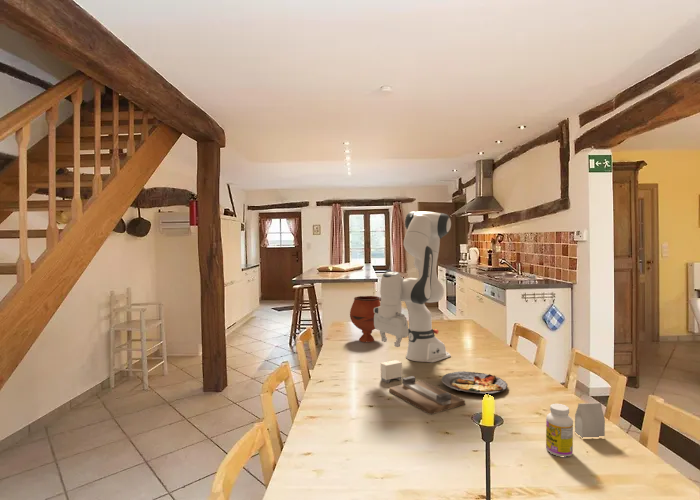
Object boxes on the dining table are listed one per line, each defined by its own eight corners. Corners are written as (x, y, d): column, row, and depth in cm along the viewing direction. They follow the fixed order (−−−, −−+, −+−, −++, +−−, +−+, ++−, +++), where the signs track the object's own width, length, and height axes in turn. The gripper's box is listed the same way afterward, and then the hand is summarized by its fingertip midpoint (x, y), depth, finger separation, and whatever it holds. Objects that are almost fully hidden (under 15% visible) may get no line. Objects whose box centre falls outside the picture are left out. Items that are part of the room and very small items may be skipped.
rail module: (396, 376, 178) (396, 359, 177) (402, 379, 174) (401, 362, 174) (380, 380, 174) (380, 363, 173) (386, 383, 170) (386, 365, 170)
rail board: (421, 383, 169) (421, 372, 169) (464, 404, 148) (464, 392, 148) (389, 391, 161) (389, 379, 161) (429, 414, 140) (429, 401, 140)
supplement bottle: (541, 446, 119) (541, 402, 118) (563, 445, 119) (563, 401, 119) (554, 459, 112) (555, 412, 111) (578, 457, 112) (578, 411, 112)
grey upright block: (604, 439, 123) (604, 405, 122) (582, 439, 122) (582, 406, 122) (596, 433, 126) (596, 400, 126) (574, 433, 126) (575, 401, 126)
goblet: (389, 338, 241) (389, 296, 240) (373, 346, 225) (372, 300, 224) (361, 334, 252) (360, 293, 251) (343, 342, 236) (343, 298, 235)
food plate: (506, 380, 173) (506, 371, 172) (508, 401, 151) (508, 392, 150) (445, 374, 181) (445, 366, 181) (438, 394, 159) (438, 384, 159)
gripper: (412, 314, 165) (412, 348, 166) (383, 306, 183) (383, 338, 183) (399, 315, 162) (399, 350, 162) (371, 308, 180) (371, 339, 180)
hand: (390, 344), depth 173 cm, fingers open, 8 cm apart
